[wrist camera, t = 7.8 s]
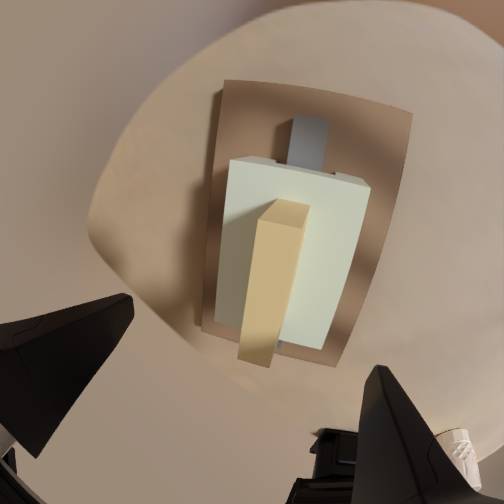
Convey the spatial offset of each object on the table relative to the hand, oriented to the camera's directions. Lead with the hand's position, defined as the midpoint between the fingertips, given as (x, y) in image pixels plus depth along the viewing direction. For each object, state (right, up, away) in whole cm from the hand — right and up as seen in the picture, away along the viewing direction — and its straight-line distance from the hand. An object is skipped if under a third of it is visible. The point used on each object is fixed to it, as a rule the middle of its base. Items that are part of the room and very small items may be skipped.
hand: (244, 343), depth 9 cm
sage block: (+3, +4, +9) cm, 11 cm away
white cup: (+27, -23, +15) cm, 38 cm away
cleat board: (+3, +4, +11) cm, 12 cm away
